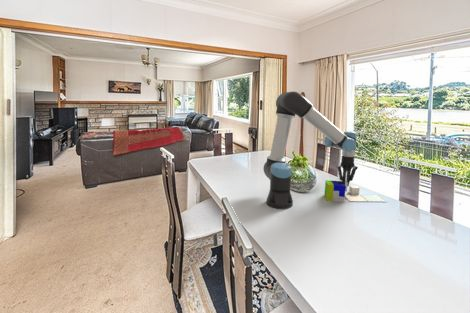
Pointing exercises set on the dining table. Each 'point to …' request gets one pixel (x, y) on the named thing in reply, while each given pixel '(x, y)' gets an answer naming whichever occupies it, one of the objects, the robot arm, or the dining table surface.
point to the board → (364, 198)
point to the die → (354, 190)
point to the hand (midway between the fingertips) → (344, 190)
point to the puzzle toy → (335, 191)
